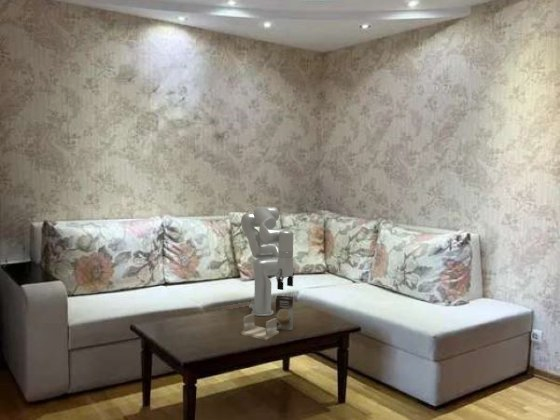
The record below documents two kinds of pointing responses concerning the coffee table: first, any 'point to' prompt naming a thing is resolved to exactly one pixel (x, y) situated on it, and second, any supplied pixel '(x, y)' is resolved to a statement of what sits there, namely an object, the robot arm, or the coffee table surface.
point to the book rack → (259, 328)
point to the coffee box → (284, 312)
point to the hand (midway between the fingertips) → (285, 287)
